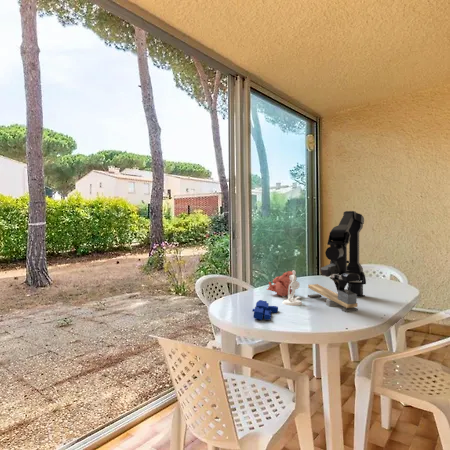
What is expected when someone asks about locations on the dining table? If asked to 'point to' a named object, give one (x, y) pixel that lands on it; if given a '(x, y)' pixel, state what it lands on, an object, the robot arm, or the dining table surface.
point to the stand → (334, 303)
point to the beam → (329, 295)
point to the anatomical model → (281, 284)
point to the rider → (347, 296)
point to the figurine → (294, 286)
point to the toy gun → (264, 310)
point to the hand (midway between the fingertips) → (339, 294)
